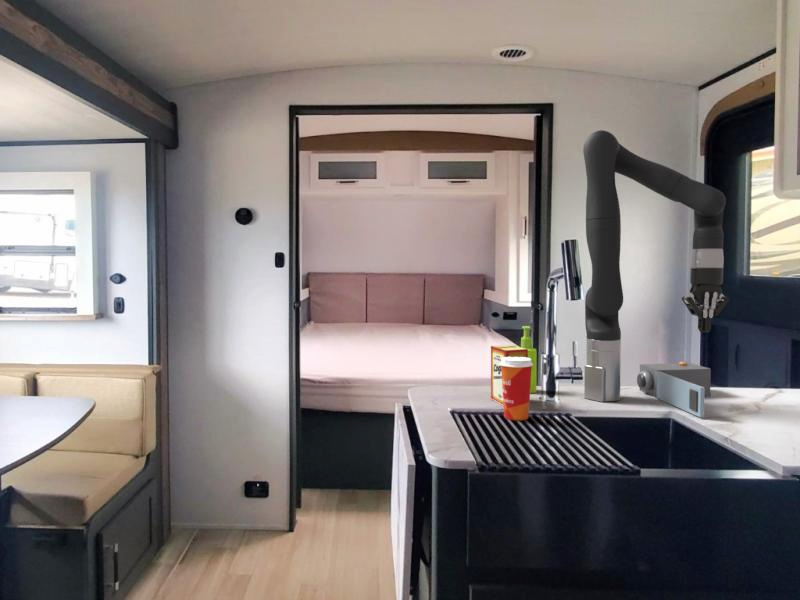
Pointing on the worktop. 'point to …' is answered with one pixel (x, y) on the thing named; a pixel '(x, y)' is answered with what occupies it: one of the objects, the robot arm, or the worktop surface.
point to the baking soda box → (496, 373)
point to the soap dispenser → (530, 356)
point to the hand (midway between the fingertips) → (704, 331)
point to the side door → (680, 393)
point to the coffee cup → (516, 387)
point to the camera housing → (674, 375)
